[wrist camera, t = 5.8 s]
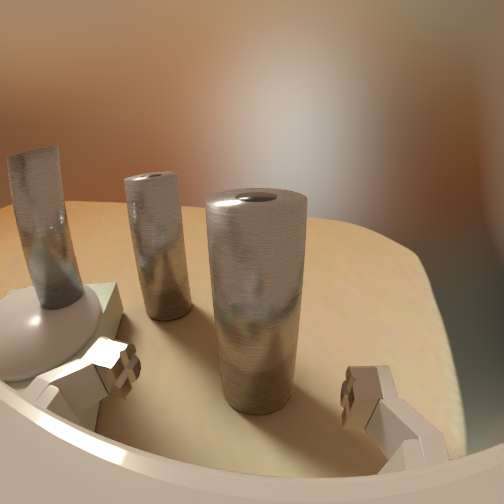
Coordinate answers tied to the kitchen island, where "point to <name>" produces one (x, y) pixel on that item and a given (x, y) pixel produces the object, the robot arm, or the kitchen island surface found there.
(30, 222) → the cylinder
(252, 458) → the kitchen island surface
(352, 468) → the kitchen island surface
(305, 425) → the kitchen island surface
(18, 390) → the scale
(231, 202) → the cylinder
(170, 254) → the cylinder
